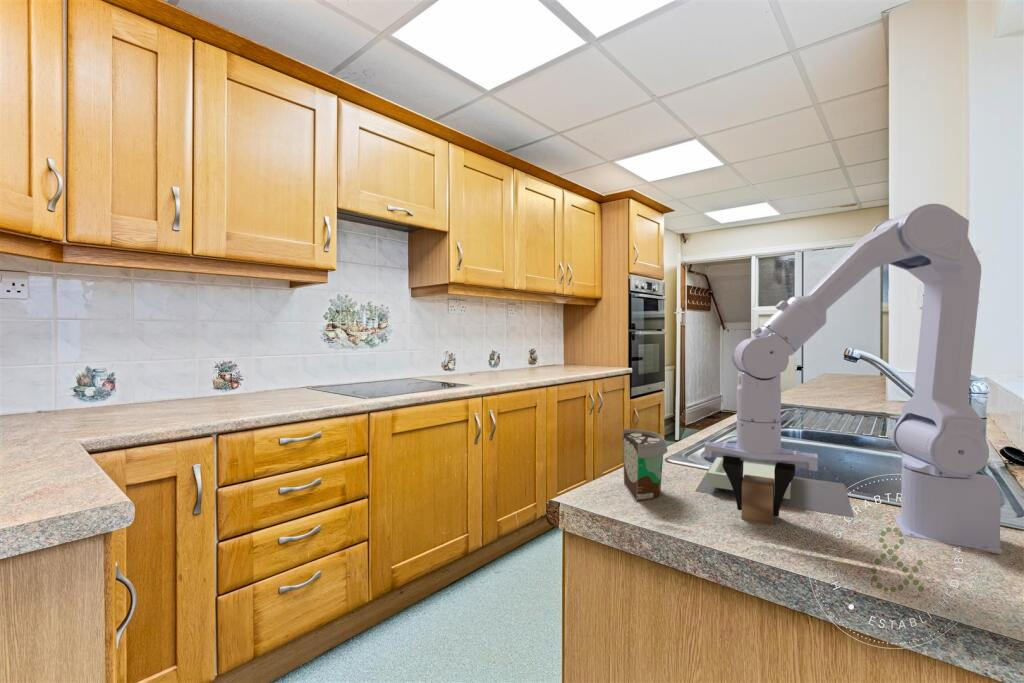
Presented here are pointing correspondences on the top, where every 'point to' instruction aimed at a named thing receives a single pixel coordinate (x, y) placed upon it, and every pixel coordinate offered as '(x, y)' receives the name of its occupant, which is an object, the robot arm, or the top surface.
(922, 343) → the robot arm
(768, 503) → the walnut block
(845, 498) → the mat
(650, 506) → the top surface
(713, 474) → the pale green tray
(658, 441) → the food container
